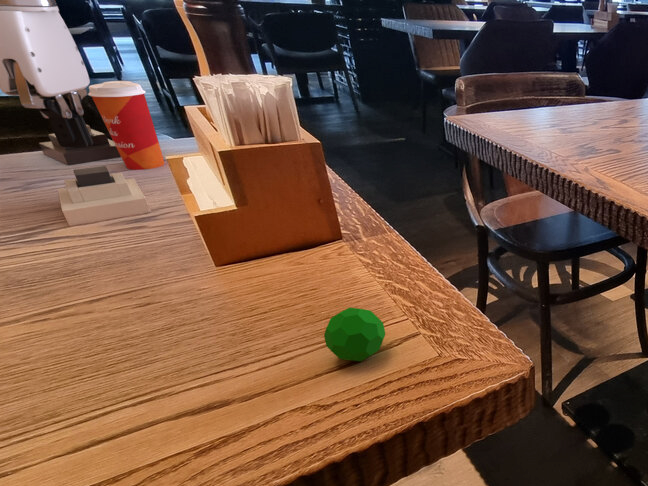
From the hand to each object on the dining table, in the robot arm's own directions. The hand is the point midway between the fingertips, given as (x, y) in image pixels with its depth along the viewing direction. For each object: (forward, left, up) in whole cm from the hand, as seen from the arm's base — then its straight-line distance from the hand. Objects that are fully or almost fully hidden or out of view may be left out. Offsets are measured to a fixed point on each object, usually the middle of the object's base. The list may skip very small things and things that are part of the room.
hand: (77, 145), depth 74 cm
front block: (0, 0, -9) cm, 9 cm away
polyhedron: (+44, -44, -9) cm, 63 cm away
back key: (-20, +31, -6) cm, 37 cm away
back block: (-20, +31, -9) cm, 38 cm away
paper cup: (-6, +23, -9) cm, 25 cm away
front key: (0, 0, -6) cm, 6 cm away
